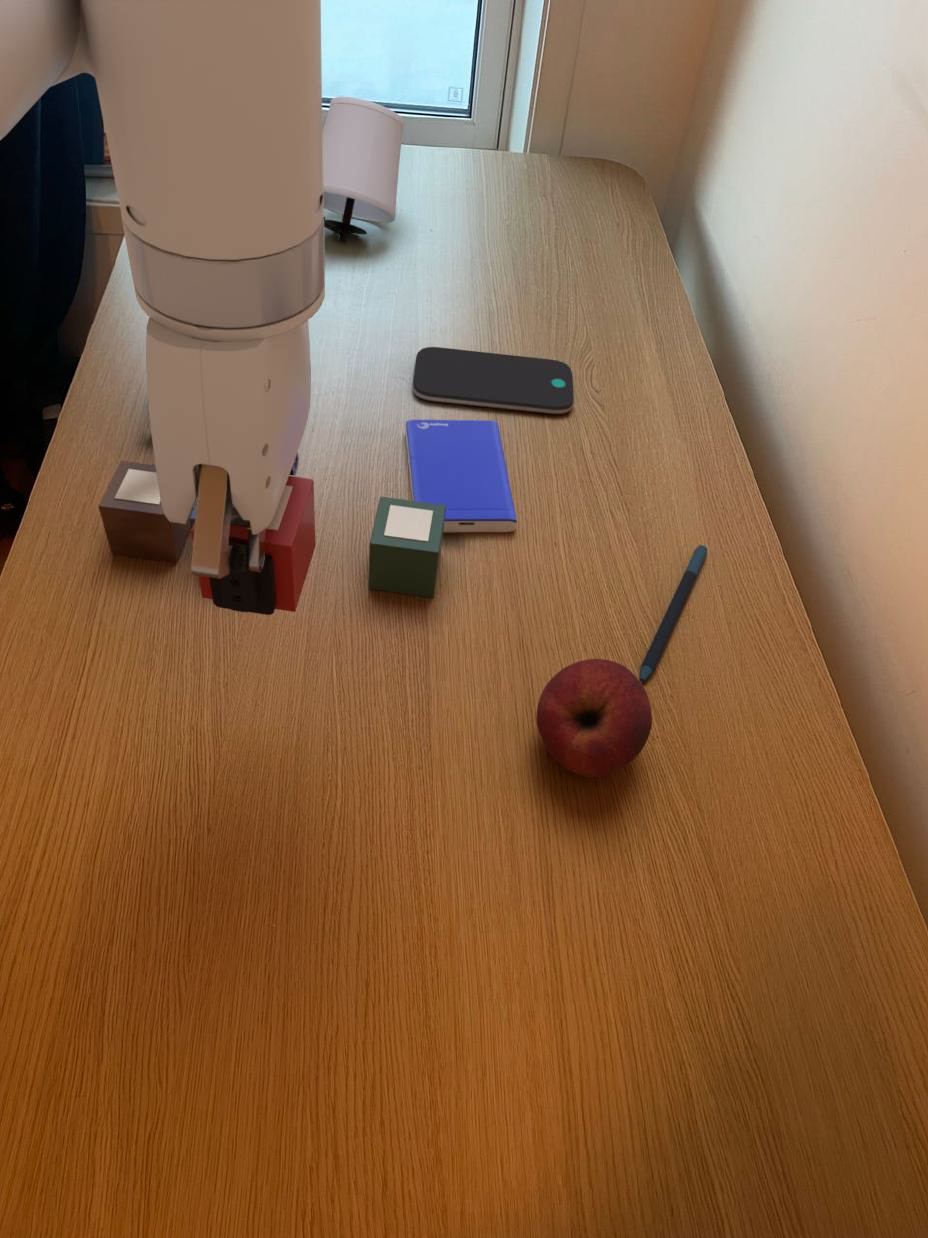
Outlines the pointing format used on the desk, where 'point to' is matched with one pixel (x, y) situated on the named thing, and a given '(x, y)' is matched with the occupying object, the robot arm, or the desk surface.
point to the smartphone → (493, 380)
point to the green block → (406, 547)
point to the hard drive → (461, 473)
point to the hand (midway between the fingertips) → (259, 565)
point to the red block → (284, 542)
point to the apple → (594, 717)
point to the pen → (672, 613)
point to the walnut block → (140, 516)
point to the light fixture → (360, 163)
